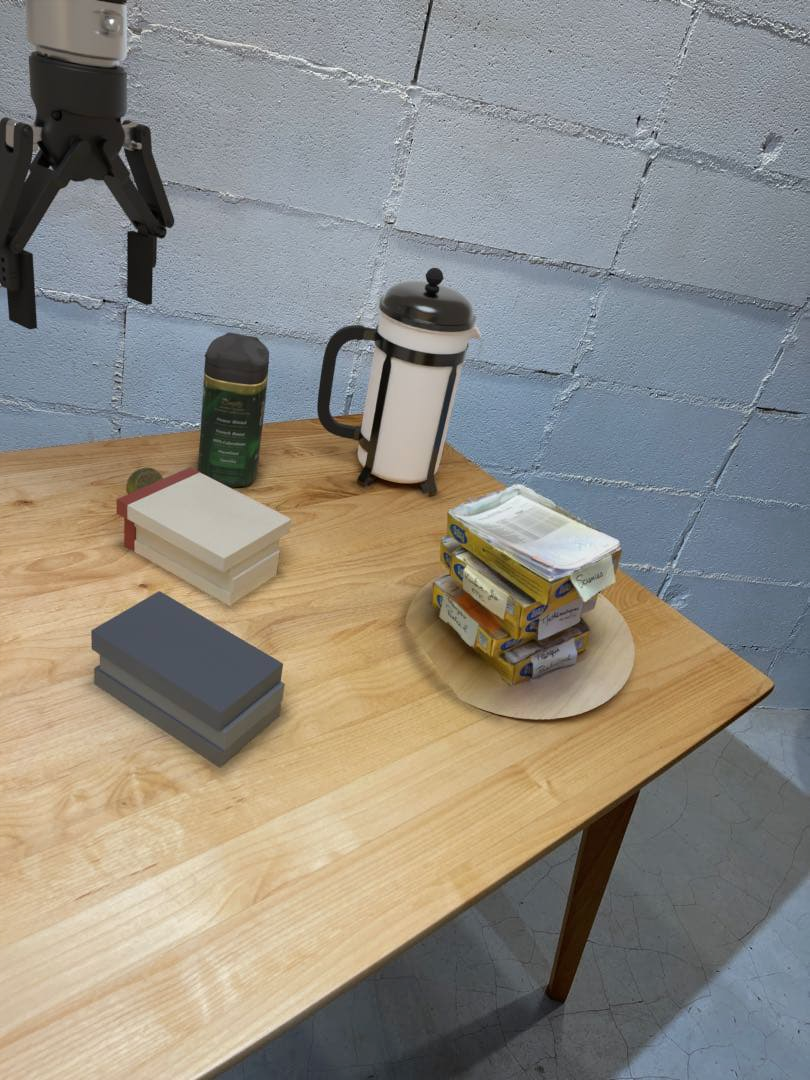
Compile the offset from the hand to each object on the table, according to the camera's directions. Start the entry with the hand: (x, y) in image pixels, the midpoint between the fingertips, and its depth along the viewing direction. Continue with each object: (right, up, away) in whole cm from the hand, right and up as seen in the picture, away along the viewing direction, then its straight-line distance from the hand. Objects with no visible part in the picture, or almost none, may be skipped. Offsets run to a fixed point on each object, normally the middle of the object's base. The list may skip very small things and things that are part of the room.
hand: (85, 312), depth 78 cm
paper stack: (+43, -33, +13) cm, 56 cm away
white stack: (+7, -24, +15) cm, 29 cm away
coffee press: (+28, -12, +41) cm, 51 cm away
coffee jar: (+7, -13, +33) cm, 36 cm away
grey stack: (+11, -37, -3) cm, 38 cm away
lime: (-1, -18, +23) cm, 29 cm away
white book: (+9, -20, +12) cm, 25 cm away
